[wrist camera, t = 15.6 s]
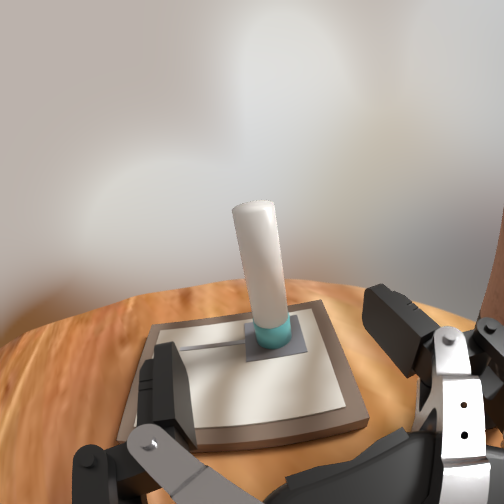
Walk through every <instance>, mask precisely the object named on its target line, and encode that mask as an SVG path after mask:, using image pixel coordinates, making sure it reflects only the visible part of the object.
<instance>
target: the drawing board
mask: <svg viewBox="0 0 504 504" xmlns="http://www.w3.org/2000/svg"><path fill="white" fill-rule="evenodd" d="M287 308H288V312H289V316H290V325H291V334H292V337H291V340H290V341H289V343H288V344H286V345H285V346H283V347H281V348H278V349H266V348H263V347H261V346H260V345H259V344H258V342H257V339H256V334H255V329H254V324H253V314H252V312H248V313H241V314H235V315H228V316H221V317H213V318H206V319H198V320H190V321H182V322H174V323H165V324H155V325H152V326H151V329H150V332H149V335H148V338H147V341H146V344H145V346H144V349H143V352H142V355H141V358H140V361H139V365H138V368H137V371H136V374H135V377H134V380H133V383H132V387H131V390H130V393H129V397H128V400H127V403H126V407H125V410H124V414H123V417H122V421H121V425H120V428H119V432H118V436H117V440H116V441H118V442H119V443H120V444H122V443H124V442H126V441H127V439H128V436H129V434H130V433H131V432H132V431H133V430H134V429H135V428H136V425H137V403H138V392H139V391H138V385H139V372H140V369H141V367H142V365H143V363H144V361H145V360H148V359H153V358H154V346H155V345H156V344H161V343H166V342H171V341H173V342H174V343H175V345H176V347H177V350H178V352H179V354H180V356H181V359H182V361H183V363H184V365H185V368H186V371H187V374H188V378H189V385H190V395H191V403H192V412H193V419H194V427H195V434H196V441H197V447H198V450H192V451H190V452H220V451H236V450H248V449H258V448H267V447H274V446H281V445H288V444H294V443H299V442H305V441H310V440H315V439H320V438H324V437H328V436H333V435H337V434H341V433H345V432H349V431H352V430H356V429H359V428H363V427H366V426H367V424H368V421H369V418H370V417H369V414H368V412H367V409H366V406H365V404H364V401H363V399H362V396H361V394H360V391H359V388H358V386H357V383H356V381H355V378H354V376H353V373H352V371H351V368H350V366H349V364H348V361H347V359H346V356H345V354H344V351H343V349H342V347H341V344H340V342H339V339H338V337H337V335H336V332H335V330H334V328H333V325H332V323H331V321H330V318H329V316H328V314H327V311H326V309H325V307H324V305H323V302H322V300H316V301H311V302H306V303H301V304H295V305H290V306H287Z"/></svg>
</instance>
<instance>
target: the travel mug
mask: <svg viewBox="0 0 504 504" xmlns="http://www.w3.org/2000/svg"><path fill="white" fill-rule="evenodd" d="M484 317H489V318H493V319H495V320H497V321H498V322H499V323H501V324H502V325H503V326H504V209H503V216H502V224H501V229H500V236H499V240H498V246H497V250H496V255H495V260H494V264H493V268H492V272H491V276H490V279H489V283H488V287H487V290H486V293H485V296H484V300H483V303H482V306H481V310H480V313H479V316H478V319H477V322H478V321H479V320H480V319H481V318H484ZM477 322H476V325H477ZM476 325H475V328H476ZM475 328H474V329H475ZM488 366H489V367H490V368H491V369H492V371H493V372H494V373H495V374H496V375H497V376H498V377H499V378H500V380H501V381H502V382H503V383H504V372H503V371H502V369H501V368H500V367H499V366H498V365H497V364H496V363H495V362H494V361H493V360H492V359H491V360H490V362H489V364H488ZM483 410H484V408H483ZM484 424H485V430H486V429H490V428H493V427H496V424H495V423H494V422H493V420H492V419H491V418H490V416H489V415H488V414H487V412H486V411H485V410H484Z"/></svg>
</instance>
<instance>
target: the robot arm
mask: <svg viewBox="0 0 504 504" xmlns="http://www.w3.org/2000/svg"><path fill="white" fill-rule="evenodd" d="M362 321H363V325H364V327H365V329H366V330H367V331H368V333H369V334H370V335H371V336H372V337H373V338H374V340H375V341H376V342H377V343H378V344H379V346H380V347H381V348H382V349H383V350H384V351H385V353H386V354H387V355H388V356H389V357H390V359H391V360H392V361H393V362H394V363H395V365H396V366H397V367H398V368H399V369H400V371H401V372H402V373H403V374H404V375H405V377H406V378H409V377H411V376H413V375H414V374H417V375H418V376H419V377H418V380H417V397H416V413H415V420H414V423H413V426H412V429H411V432H407V433H406V432H405V430H404V429H403V427H401V428H400V429H398V430H396V431H394V432H392V433H391V434H389V435H387V436H385V437H383V438H381V439H379V440H377V441H376V442H375V443H374V444H372V445H371V446H370V447H369V448H368V449H366V450H365V451H364V452H362V453H361V454H360V455H359V456H357V457H356V458H355V459H353V460H351V461H347V462H342V463H337V464H331V465H324V466H317V467H314V468H312V469H309V470H306V471H303V472H300V473H297V474H294V475H290V476H287V477H285V479H286V484H284V485H282V486H280V487H279V488H277V489H276V490H274V491H273V492H272V493H271V494H270V495H268V496H267V497H266V499H265V500H264V501H263V502H261V501H259V500H258V499H256V498H254V497H253V496H251V495H250V494H248V493H247V492H245V491H243V490H242V489H240V488H239V487H237V486H236V485H235V484H233V483H232V482H230V481H229V480H227V479H226V478H225V477H223V476H222V475H220V474H219V473H218V472H216V471H215V470H213V469H212V468H211V467H209V466H207V465H204V464H203V463H201V462H200V461H199V460H198V459H196V458H195V457H194V456H193V455H192V454H190V451H192V450H198V447H197V441H196V434H195V427H194V419H193V412H192V403H191V395H190V385H189V378H188V374H187V371H186V368H185V365H184V363H183V361H182V359H181V356H180V354H179V352H178V350H177V347H176V345H175V343H174V342H173V341H171V342H166V343H161V344H156V345H155V346H154V358H153V359H148V360H145V361H144V363H143V365H142V367H141V369H140V372H139V385H138V391H139V392H138V403H137V425H136V428H135V429H134V430H133V431H132V432H131V433H130V434H129V436H128V439H127V441H126V442H124V443H122V444H120V445H117V446H114V447H112V448H109V449H106V450H103V449H102V448H101V447H99V446H97V445H91V444H90V445H85V446H83V447H81V448H80V449H79V450H78V451H77V452H76V453H75V455H74V458H73V470H72V504H148V503H147V496H146V494H147V493H150V492H152V491H155V490H158V489H160V488H163V489H164V490H165V491H166V492H167V493H168V494H169V495H170V497H171V498H172V499H173V501H174V502H176V503H177V504H504V383H503V382H502V381H501V380H500V378H499V377H498V376H497V375H496V374H495V373H494V372H493V371H492V369H491V368H490V367H489V366H488V364H489V362H490V360H491V359H492V360H493V361H494V362H495V363H496V364H497V365H498V366H499V367H500V368H501V369H502V371H503V372H504V326H503V325H502V324H501V323H499V322H498V321H497V320H495V319H493V318H489V317H484V318H481V319H480V320H479V321H478V322H477V325H476V328H475V329H474V330H470V331H466V332H461V331H460V330H458V329H457V328H454V327H451V326H444V327H440V326H439V325H438V324H437V323H436V322H434V321H433V320H432V319H431V318H430V317H429V316H428V315H427V314H425V313H424V312H423V311H422V310H421V309H418V307H417V306H416V305H415V304H414V303H412V301H410V300H409V299H408V298H407V297H406V296H405V295H402V294H400V293H398V292H395V291H393V292H392V291H391V290H390V289H389V288H387V287H386V286H385V285H384V284H378V285H375V286H372V287H370V288H367V289H366V290H365V292H364V302H363V312H362ZM483 408H484V410H485V411H486V412H487V414H488V415H489V416H490V418H491V419H492V420H493V422H494V423H495V424H496V426H497V427H498V428H499V430H500V431H501V433H502V434H503V441H502V442H501V448H499V447H494V446H489V445H485V424H484V410H483Z"/></svg>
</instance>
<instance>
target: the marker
mask: <svg viewBox="0 0 504 504" xmlns="http://www.w3.org/2000/svg"><path fill="white" fill-rule="evenodd" d="M232 213H233V219H234V224H235V229H236V234H237V239H238V244H239V250H240V255H241V260H242V265H243V269H244V275H245V280H246V285H247V289H248V294H249V299H250V304H251V309H252V314H253V324H254V329H255V334H256V339H257V342H258V344H259V345H260V346H261V347H263V348H266V349H278V348H281V347H283V346H285V345H286V344H288V343H289V341H290V340H291V337H292V334H291V325H290V316H289V312H288V308H287V299H286V291H285V283H284V275H283V267H282V259H281V252H280V243H279V236H278V229H277V221H276V214H275V207H274V203H273V202H271V201H265V200H264V201H263V200H259V201H252V202H247V203H243V204H240V205H238V206H236V207H234V208H233V209H232Z"/></svg>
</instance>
